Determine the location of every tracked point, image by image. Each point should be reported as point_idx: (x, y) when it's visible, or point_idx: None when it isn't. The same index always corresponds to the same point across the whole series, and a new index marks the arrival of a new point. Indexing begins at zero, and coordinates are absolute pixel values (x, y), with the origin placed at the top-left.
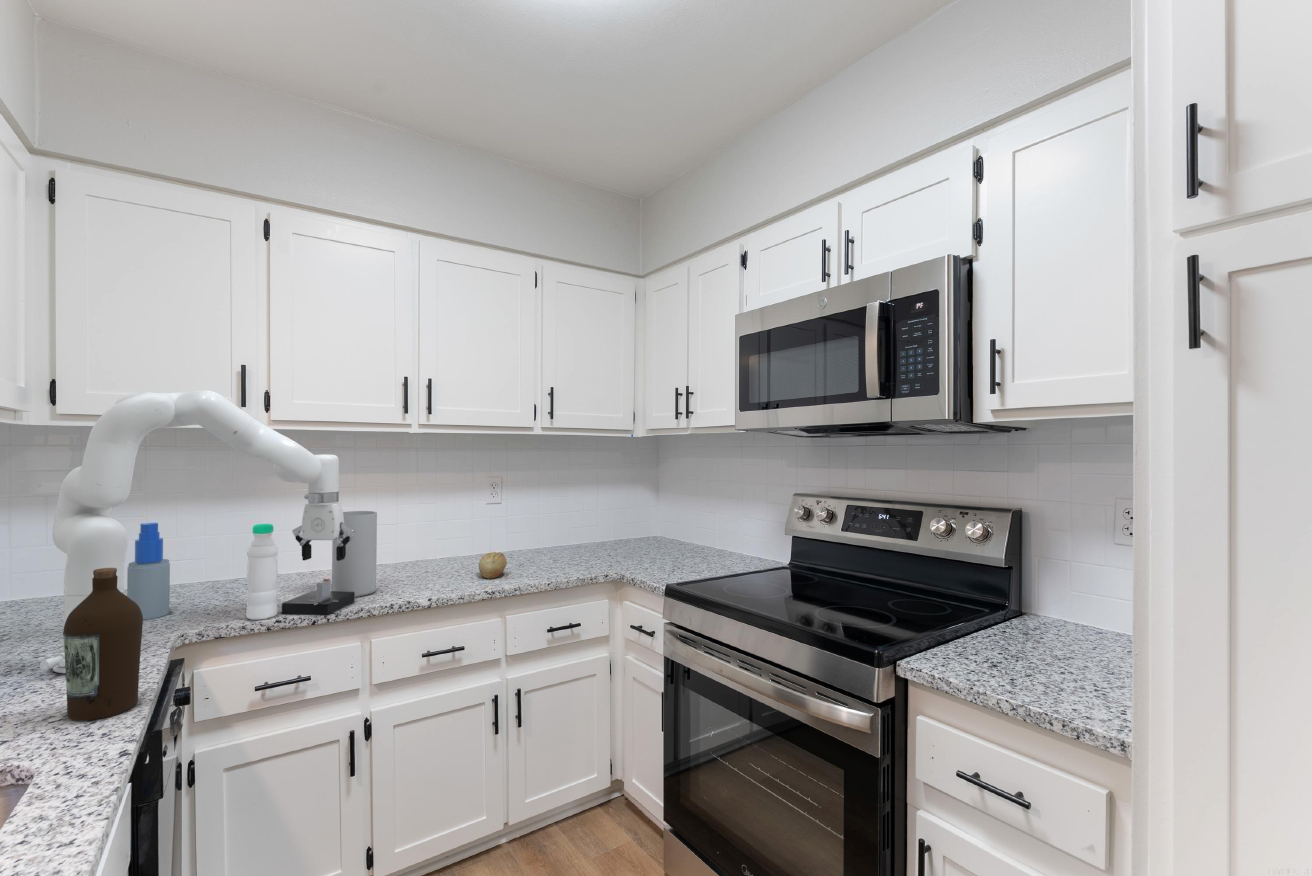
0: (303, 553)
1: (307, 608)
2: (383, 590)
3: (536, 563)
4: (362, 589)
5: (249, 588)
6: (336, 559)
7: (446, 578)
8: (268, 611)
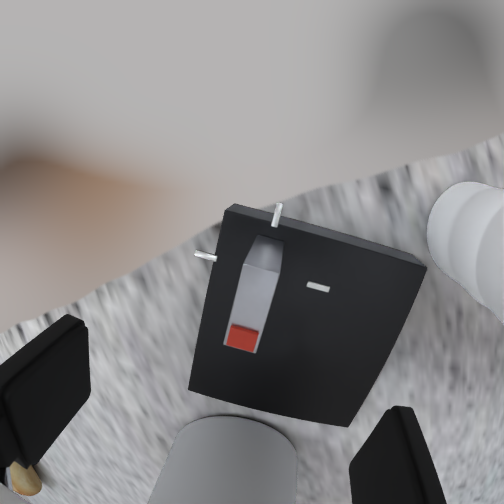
0: (418, 448)
1: (318, 230)
2: (165, 452)
3: None
4: (190, 431)
5: None
6: (82, 326)
7: (81, 478)
8: (450, 195)
